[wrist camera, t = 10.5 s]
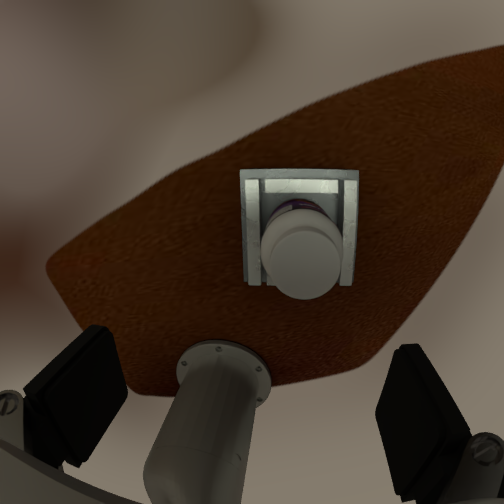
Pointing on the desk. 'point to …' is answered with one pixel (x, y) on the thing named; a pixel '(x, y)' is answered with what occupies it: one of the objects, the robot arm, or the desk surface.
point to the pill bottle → (302, 249)
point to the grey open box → (297, 187)
